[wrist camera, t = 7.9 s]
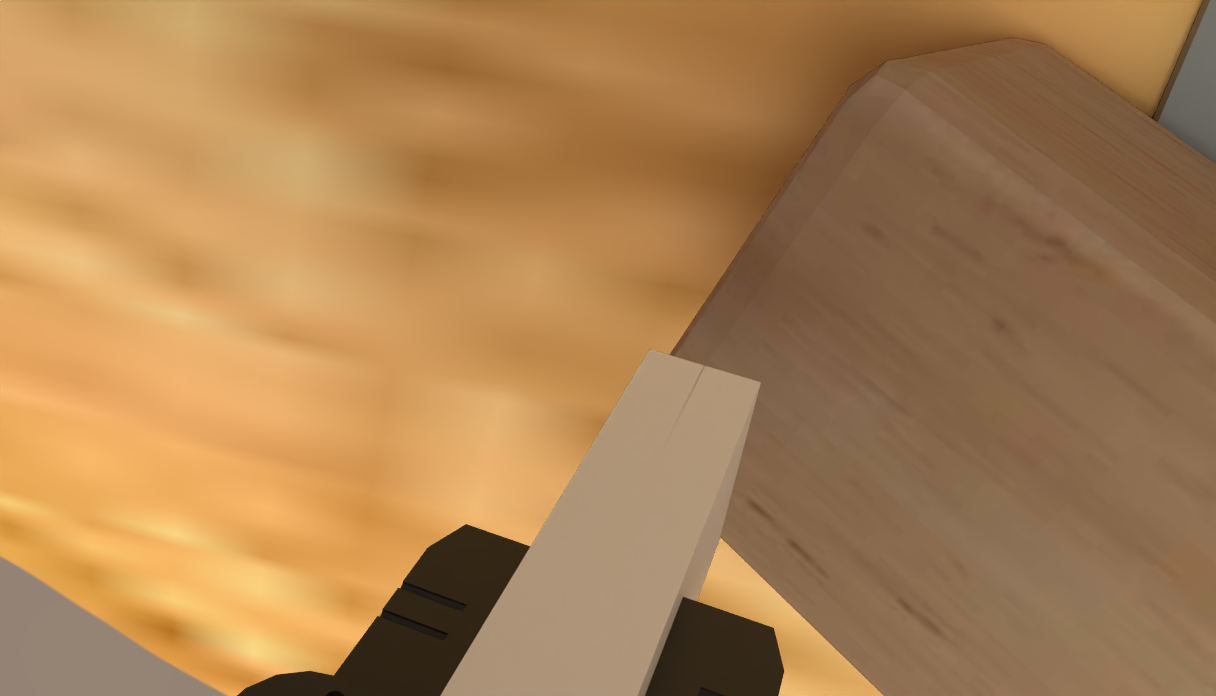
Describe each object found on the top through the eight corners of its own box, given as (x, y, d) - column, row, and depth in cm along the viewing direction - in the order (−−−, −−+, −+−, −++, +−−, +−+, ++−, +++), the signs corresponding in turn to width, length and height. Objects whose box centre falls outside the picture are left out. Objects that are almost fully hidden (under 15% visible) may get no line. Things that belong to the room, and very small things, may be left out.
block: (1022, 17, 24) (1915, 645, 19) (793, 320, 30) (1427, 869, 24) (861, 38, 16) (2302, 1119, 11) (595, 442, 22) (1456, 1286, 17)
